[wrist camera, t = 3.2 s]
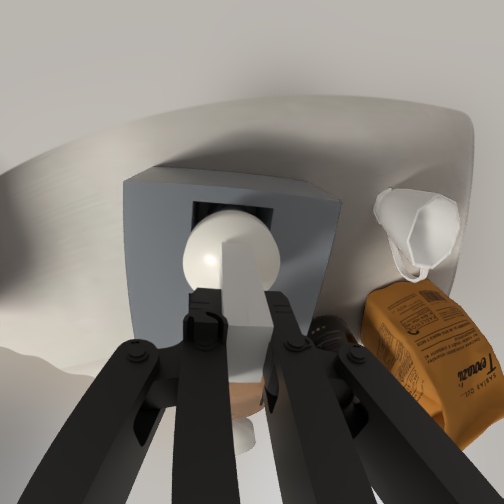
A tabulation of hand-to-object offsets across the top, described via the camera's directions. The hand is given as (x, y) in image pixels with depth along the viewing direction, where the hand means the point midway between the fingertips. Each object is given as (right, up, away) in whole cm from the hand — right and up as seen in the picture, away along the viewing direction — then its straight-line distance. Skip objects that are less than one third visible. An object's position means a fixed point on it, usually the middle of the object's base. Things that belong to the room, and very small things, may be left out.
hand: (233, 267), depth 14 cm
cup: (+16, +4, +13) cm, 21 cm away
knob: (-1, +4, +8) cm, 9 cm away
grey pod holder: (-2, -1, +13) cm, 13 cm away
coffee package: (+20, -7, +18) cm, 28 cm away
